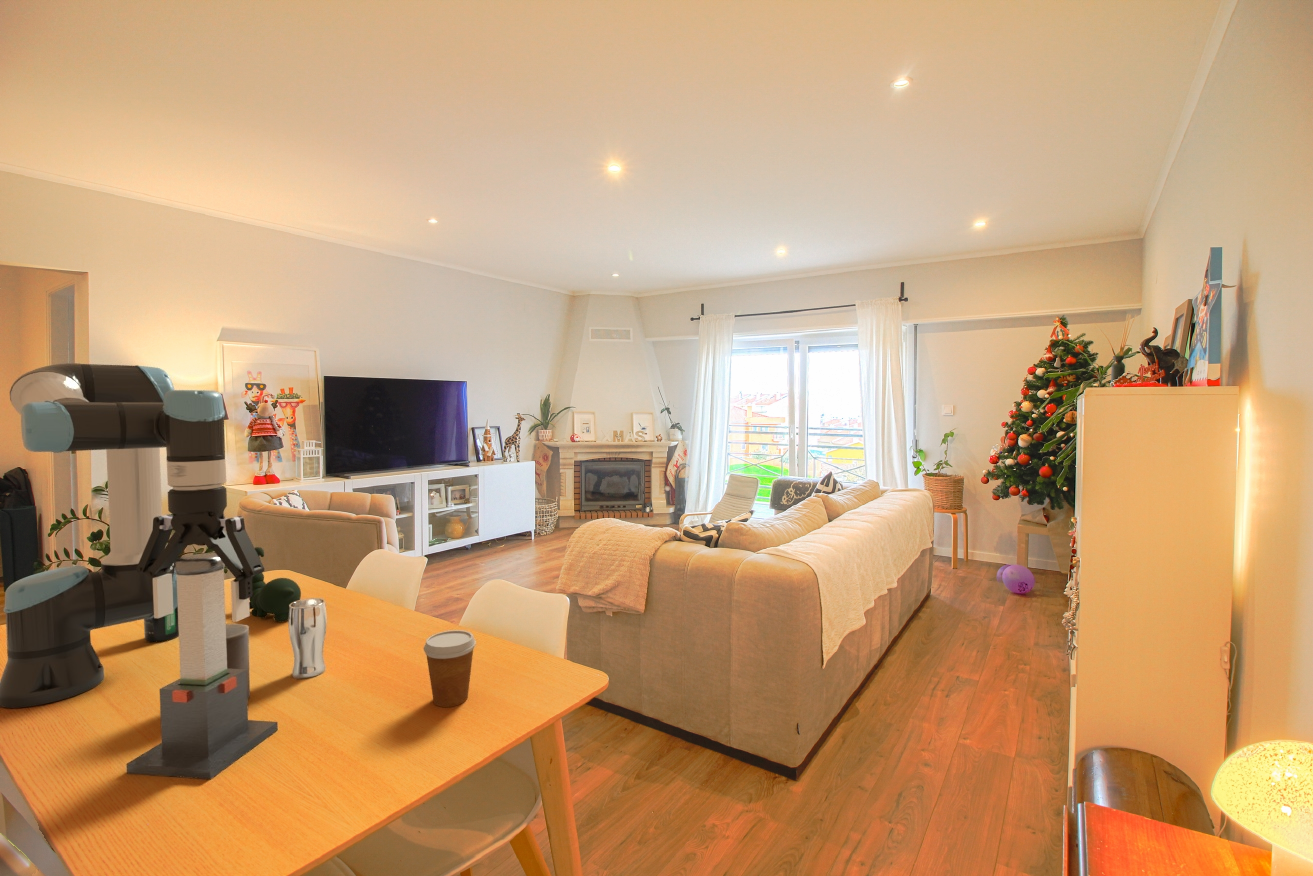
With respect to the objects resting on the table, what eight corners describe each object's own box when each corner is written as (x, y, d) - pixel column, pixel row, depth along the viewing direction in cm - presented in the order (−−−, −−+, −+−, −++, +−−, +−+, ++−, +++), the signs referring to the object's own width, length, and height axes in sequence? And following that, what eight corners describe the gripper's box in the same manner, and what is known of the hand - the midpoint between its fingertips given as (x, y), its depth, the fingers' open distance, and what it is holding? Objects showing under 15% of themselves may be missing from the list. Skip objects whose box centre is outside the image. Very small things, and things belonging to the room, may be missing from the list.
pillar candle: (201, 721, 108) (199, 638, 108) (177, 706, 113) (176, 627, 113) (260, 699, 117) (259, 622, 116) (235, 686, 122) (234, 613, 121)
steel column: (169, 711, 96) (163, 562, 95) (203, 692, 102) (198, 552, 101) (206, 714, 95) (201, 563, 94) (238, 694, 101) (234, 553, 100)
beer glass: (310, 681, 124) (309, 609, 123) (281, 678, 125) (279, 606, 125) (335, 667, 131) (333, 598, 130) (307, 664, 132) (305, 596, 131)
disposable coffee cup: (427, 716, 110) (426, 651, 110) (421, 694, 119) (420, 634, 118) (481, 704, 115) (480, 642, 114) (471, 684, 123) (470, 626, 122)
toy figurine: (234, 618, 165) (275, 630, 151) (229, 549, 165) (270, 554, 151) (272, 609, 173) (314, 619, 158) (267, 543, 173) (309, 547, 158)
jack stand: (126, 773, 93) (123, 697, 92) (203, 725, 107) (201, 659, 106) (210, 779, 91) (207, 702, 91) (277, 730, 105) (275, 662, 105)
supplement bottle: (179, 639, 146) (177, 590, 145) (142, 645, 142) (140, 595, 142) (182, 630, 152) (180, 583, 151) (146, 636, 148) (144, 587, 147)
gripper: (103, 488, 94) (109, 622, 95) (251, 491, 92) (256, 628, 93) (148, 482, 102) (153, 606, 103) (286, 484, 99) (290, 612, 100)
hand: (202, 617), depth 98 cm, fingers open, 13 cm apart
